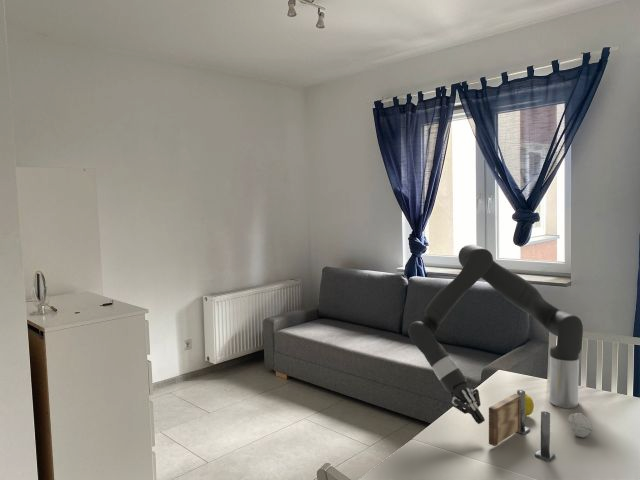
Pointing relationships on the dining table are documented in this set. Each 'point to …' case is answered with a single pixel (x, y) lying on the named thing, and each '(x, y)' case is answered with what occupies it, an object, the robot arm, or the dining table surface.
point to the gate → (504, 419)
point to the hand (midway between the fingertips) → (481, 422)
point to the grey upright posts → (545, 430)
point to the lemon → (528, 405)
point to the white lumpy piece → (580, 424)
